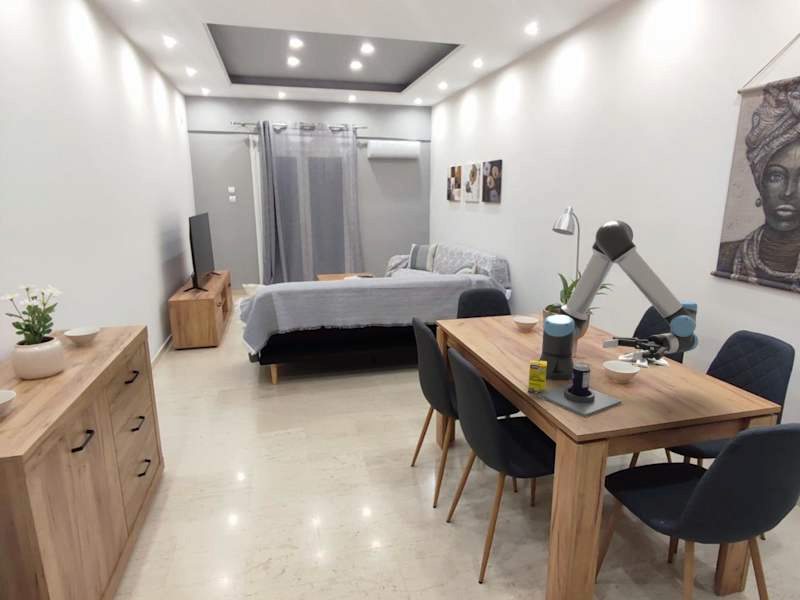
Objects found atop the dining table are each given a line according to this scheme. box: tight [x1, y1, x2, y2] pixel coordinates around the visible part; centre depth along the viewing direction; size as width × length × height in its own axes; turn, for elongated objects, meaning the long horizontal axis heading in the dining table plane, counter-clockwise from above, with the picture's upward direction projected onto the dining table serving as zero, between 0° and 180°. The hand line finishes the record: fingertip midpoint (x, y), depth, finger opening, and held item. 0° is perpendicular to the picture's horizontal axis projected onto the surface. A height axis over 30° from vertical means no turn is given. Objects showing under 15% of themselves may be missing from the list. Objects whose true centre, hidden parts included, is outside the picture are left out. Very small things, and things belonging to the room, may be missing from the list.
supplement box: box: [527, 359, 547, 394], centre depth 174 cm, size 6×6×11 cm
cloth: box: [618, 349, 670, 369], centre depth 209 cm, size 22×19×6 cm
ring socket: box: [537, 382, 623, 418], centre depth 167 cm, size 20×20×3 cm
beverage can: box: [571, 362, 591, 397], centre depth 166 cm, size 6×6×12 cm
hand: (618, 350), depth 167 cm, fingers open, 13 cm apart
